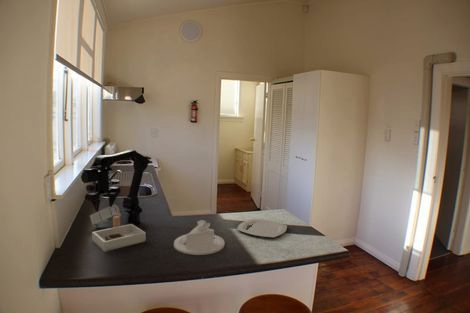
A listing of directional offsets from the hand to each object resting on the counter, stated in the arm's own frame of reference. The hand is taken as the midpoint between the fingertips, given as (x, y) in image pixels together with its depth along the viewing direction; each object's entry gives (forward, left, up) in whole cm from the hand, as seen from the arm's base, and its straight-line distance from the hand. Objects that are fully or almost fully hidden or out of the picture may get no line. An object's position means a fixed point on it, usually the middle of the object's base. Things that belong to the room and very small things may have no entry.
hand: (104, 209), depth 157 cm
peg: (-5, +3, -13) cm, 14 cm away
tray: (-1, +16, -13) cm, 20 cm away
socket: (+1, +16, -13) cm, 20 cm away
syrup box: (+3, -10, -9) cm, 14 cm away
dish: (-30, +43, -13) cm, 54 cm away
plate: (-70, +49, -13) cm, 87 cm away
